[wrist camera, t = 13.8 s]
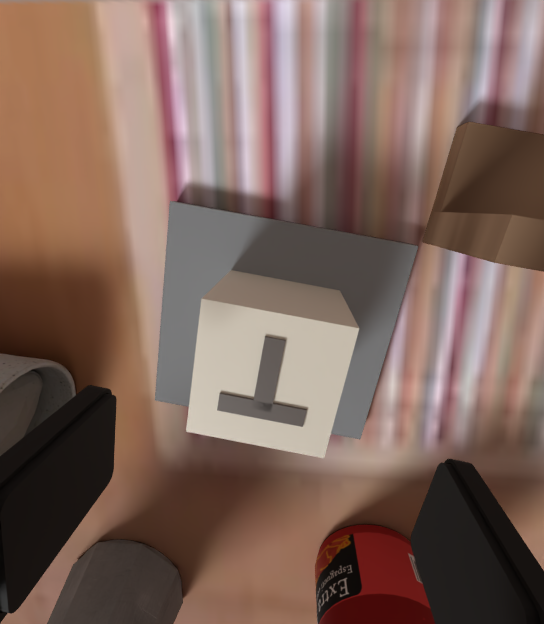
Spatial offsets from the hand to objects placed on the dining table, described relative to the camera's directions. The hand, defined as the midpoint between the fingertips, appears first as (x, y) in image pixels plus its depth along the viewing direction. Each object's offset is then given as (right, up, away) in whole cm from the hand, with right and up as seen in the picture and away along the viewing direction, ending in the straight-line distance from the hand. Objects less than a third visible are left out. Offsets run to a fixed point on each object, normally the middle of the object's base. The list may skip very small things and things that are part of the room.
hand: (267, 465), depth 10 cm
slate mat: (0, +4, +11) cm, 11 cm away
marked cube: (0, +3, +10) cm, 10 cm away
